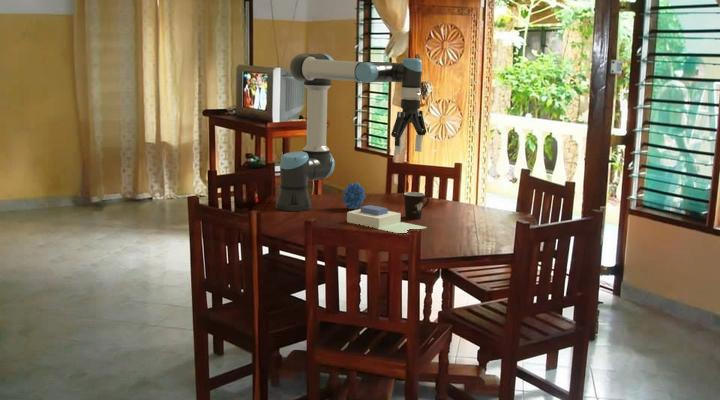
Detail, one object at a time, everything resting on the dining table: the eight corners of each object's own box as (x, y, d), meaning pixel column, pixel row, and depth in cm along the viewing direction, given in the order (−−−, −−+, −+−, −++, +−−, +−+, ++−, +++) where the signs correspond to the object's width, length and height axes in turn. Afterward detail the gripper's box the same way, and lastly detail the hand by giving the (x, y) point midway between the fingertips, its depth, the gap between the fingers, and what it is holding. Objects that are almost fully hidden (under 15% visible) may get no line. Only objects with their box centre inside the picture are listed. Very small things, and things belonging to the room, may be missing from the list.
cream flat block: (346, 221, 306) (347, 212, 305) (368, 216, 317) (369, 207, 316) (378, 228, 296) (379, 218, 295) (400, 223, 307) (400, 213, 306)
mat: (377, 229, 295) (377, 228, 295) (401, 222, 308) (401, 222, 308) (402, 234, 288) (402, 234, 288) (426, 227, 300) (426, 227, 300)
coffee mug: (405, 220, 312) (406, 196, 310) (400, 215, 320) (401, 192, 318) (433, 220, 314) (434, 196, 312) (427, 215, 323) (428, 191, 321)
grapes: (370, 210, 329) (371, 182, 327) (361, 212, 324) (361, 184, 321) (349, 206, 336) (349, 179, 334) (339, 208, 331) (340, 180, 328)
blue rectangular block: (360, 212, 306) (360, 207, 306) (369, 209, 311) (369, 205, 310) (378, 215, 300) (378, 210, 300) (387, 213, 305) (387, 208, 305)
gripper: (399, 100, 288) (396, 156, 292) (436, 98, 307) (434, 151, 311) (383, 99, 292) (381, 154, 297) (421, 97, 311) (418, 149, 316)
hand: (408, 152), depth 304 cm, fingers open, 13 cm apart
